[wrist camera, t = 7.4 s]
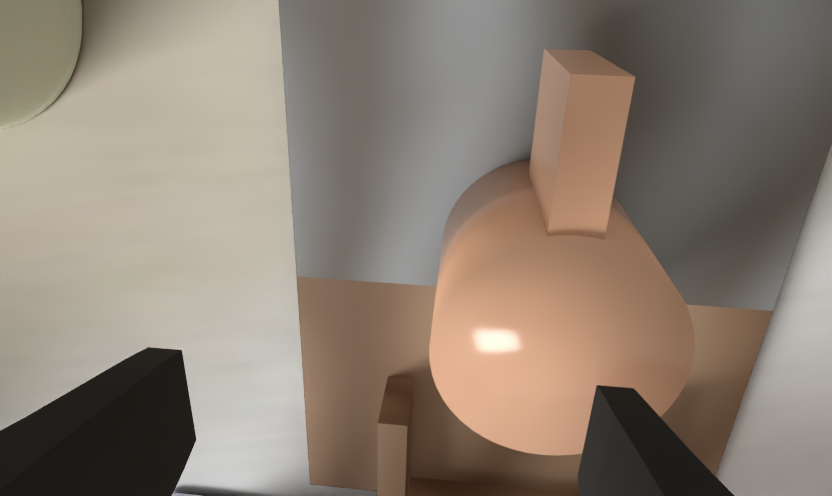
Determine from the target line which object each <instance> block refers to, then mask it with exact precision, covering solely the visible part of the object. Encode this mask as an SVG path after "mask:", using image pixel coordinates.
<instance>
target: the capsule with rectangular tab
mask: <svg viewBox="0 0 832 496" xmlns="http://www.w3.org/2000/svg"><path fill="white" fill-rule="evenodd" d="M634 82H635V76H633V75H631V74H630V73H628V72H626V71H625V70H623V69H621V68H619V67H618V66H616V65H614V64H613V63H611V62H609V61H608V60H606V59H604V58H603V57H601V56H599V55H598V54H596V53H594V52H593V51H590V50H567V49H544V53H543V61H542V70H541V78H540V86H539V94H538V103H537V111H536V119H535V127H534V136H533V144H532V152H531V160H524V161H518V162H514V163H510V164H507V165H504V166H501V167H499V168H496V169H494V170H492V171H491V172H489V173H487V174H485V175H483V176H482V177H481V178H479V179H478V180H476V181H475V182H474V183H473V184H472V185H470V186H469V187H468V188H467V189H466V190H465V191H464V192H463V194H462V195H461V196H460V197H459V199H458V200H457V201H456V203H455V204H454V206H453V208H452V209H451V211H450V214H449V216H448V218H447V220H446V224H445V227H444V231H443V238H442V246H441V255H440V263H439V271H438V279H437V287H436V296H435V304H434V312H433V320H432V329H431V337H430V345H429V359H430V366H431V372H432V376H433V379H434V382H435V384H436V387H437V389H438V391H439V393H440V395H441V397H442V399H443V400H444V402H445V403H446V404H447V406H448V407H449V409H450V410H451V411H452V412H453V413H454V414H455V415H456V416H457V417H458V418H459V419H460V421H462V422H463V423H464V424H465V425H467V426H468V427H469V428H470V429H471V430H473V431H475V432H476V433H478V434H479V435H481V436H482V437H484V438H486V439H488V440H490V441H492V442H494V443H496V444H499V445H502V446H504V447H507V448H510V449H513V450H518V451H522V452H526V453H532V454H539V455H556V456H559V455H575V454H581V453H582V452H583V447H584V443H585V438H586V433H587V428H588V424H589V419H590V414H591V409H592V405H593V400H594V395H595V390H596V386H597V385H602V386H614V387H626V388H634V389H635V390H636V391H637V392H638V393H639V394H640V395H641V396H642V398H643V399H644V400H645V401H646V402H647V403H648V404H649V405H650V406H651V407H652V409H653V410H654V411H655V412H656V413H657V414H658V415H659V416H660V417H661V416H662V415H663V414H664V413H665V412H666V411H667V410H668V409H669V408H670V407H671V405H672V404H673V403H674V401H675V400H676V399H677V397H678V396H679V394H680V393H681V391H682V389H683V387H684V385H685V384H686V382H687V379H688V376H689V374H690V371H691V368H692V364H693V359H694V353H695V335H694V328H693V323H692V320H691V316H690V313H689V310H688V308H687V306H686V304H685V302H684V300H683V298H682V296H681V295H680V293H679V292H678V290H677V289H676V287H675V286H674V284H673V283H672V281H671V280H670V278H669V277H668V275H667V274H666V272H665V271H664V269H663V268H662V266H661V264H660V263H659V261H658V260H657V258H656V257H655V255H654V254H653V252H652V251H651V249H650V248H649V246H648V245H647V243H646V242H645V240H644V239H643V237H642V236H641V234H640V233H639V231H638V230H637V228H636V227H635V225H634V224H633V222H632V220H631V219H630V217H629V216H628V214H627V213H626V211H625V210H624V208H623V207H622V205H621V204H620V202H619V201H618V199H617V198H616V197H615V195H614V194H613V192H614V187H615V181H616V176H617V171H618V166H619V160H620V155H621V150H622V145H623V139H624V134H625V129H626V124H627V118H628V113H629V108H630V103H631V97H632V92H633V87H634Z"/></svg>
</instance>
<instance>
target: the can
mask: <svg viewBox="0 0 832 496" xmlns="http://www.w3.org/2000/svg"><path fill="white" fill-rule="evenodd" d="M81 37H82V4H81V0H0V129H3V128H7V127H12V126H15V125H18V124H21V123H23V122H26V121H28V120H30V119H32V118H34V117H35V116H37V115H38V114H40V113H41V112H43V111H44V110H45V109H46V108H48V107H49V106H50V105H51V104H52V103H53V102H54V101H55V100H56V99H57V97H58V96H59V95H60V94H61V92H62V91H63V90H64V88H65V86H66V85H67V83H68V81H69V80H70V78H71V75H72V73H73V70H74V68H75V65H76V62H77V59H78V55H79V51H80V44H81Z"/></svg>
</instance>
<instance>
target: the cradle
mask: <svg viewBox="0 0 832 496" xmlns="http://www.w3.org/2000/svg"><path fill="white" fill-rule="evenodd" d="M279 14H280V29H281V44H282V60H283V75H284V90H285V106H286V121H287V136H288V152H289V167H290V182H291V198H292V213H293V228H294V244H295V259H296V274H297V290H298V305H299V321H300V336H301V351H302V367H303V382H304V397H305V413H306V428H307V443H308V459H309V474H310V485H321V486H331V487H341V488H351V489H361V490H372V491H377V496H580V491H579V483H578V471H579V466H580V462H581V457H582V453H581V454H575V455H559V456H556V455H539V454H532V453H526V452H522V451H518V450H513V449H510V448H507V447H504V446H502V445H499V444H496V443H494V442H492V441H490V440H488V439H486V438H484V437H482V436H481V435H479V434H478V433H476V432H475V431H473V430H471V429H470V428H469V427H468V426H467V425H465V424H464V423H463V422H462V421H460V419H459V418H458V417H457V416H456V415H455V414H454V413H453V412H452V411H451V410H450V409H449V407H448V406H447V404H446V403H445V402H444V400H443V399H442V397H441V395H440V393H439V391H438V389H437V387H436V384H435V382H434V379H433V376H432V372H431V366H430V359H429V345H430V337H431V329H432V320H433V312H434V304H435V296H436V287H437V279H438V271H439V263H440V255H441V246H442V238H443V231H444V227H445V224H446V220H447V218H448V216H449V214H450V211H451V209H452V208H453V206H454V204H455V203H456V201H457V200H458V199H459V197H460V196H461V195H462V194H463V192H464V191H465V190H466V189H467V188H468V187H469V186H470V185H472V184H473V183H474V182H475V181H476V180H478V179H479V178H481V177H482V176H483V175H485V174H487V173H489V172H491V171H492V170H494V169H496V168H499V167H501V166H504V165H507V164H510V163H514V162H518V161H524V160H531V152H532V144H533V136H534V127H535V119H536V111H537V103H538V94H539V86H540V78H541V70H542V61H543V53H544V49H567V50H590V51H593V52H594V53H596V54H598V55H599V56H601V57H603V58H604V59H606V60H608V61H609V62H611V63H613V64H614V65H616V66H618V67H619V68H621V69H623V70H625V71H626V72H628V73H630V74H631V75H633V76H635V82H634V87H633V92H632V97H631V103H630V108H629V113H628V118H627V124H626V129H625V134H624V139H623V145H622V150H621V155H620V160H619V166H618V171H617V176H616V181H615V187H614V192H613V194H614V195H615V197H616V198H617V199H618V201H619V202H620V204H621V205H622V207H623V208H624V210H625V211H626V213H627V214H628V216H629V217H630V219H631V220H632V222H633V224H634V225H635V227H636V228H637V230H638V231H639V233H640V234H641V236H642V237H643V239H644V240H645V242H646V243H647V245H648V246H649V248H650V249H651V251H652V252H653V254H654V255H655V257H656V258H657V260H658V261H659V263H660V264H661V266H662V268H663V269H664V271H665V272H666V274H667V275H668V277H669V278H670V280H671V281H672V283H673V284H674V286H675V287H676V289H677V290H678V292H679V293H680V295H681V296H682V298H683V300H684V302H685V304H686V306H687V308H688V310H689V313H690V316H691V320H692V323H693V328H694V335H695V353H694V359H693V364H692V368H691V371H690V374H689V376H688V379H687V382H686V384H685V385H684V387H683V389H682V391H681V393H680V394H679V396H678V397H677V399H676V400H675V401H674V403H673V404H672V405H671V407H670V408H669V409H668V410H667V411H666V412H665V413H664V414H663V415H662V416H661V419H662V420H663V421H664V422H665V423H666V424H667V425H668V426H669V427H670V428H671V430H672V431H673V432H674V433H675V434H676V435H677V436H678V437H679V438H680V439H681V441H682V442H683V443H684V444H685V445H686V446H687V447H688V448H689V449H690V450H691V451H692V452H693V454H694V455H695V456H696V457H697V458H698V459H699V460H700V461H701V462H702V463H703V464H704V465H705V466H706V467H707V468H708V469H709V470H710V471H711V473H712V474H713V475H714V476H715V475H716V472H717V469H718V466H719V463H720V461H721V458H722V455H723V452H724V449H725V446H726V443H727V441H728V438H729V435H730V432H731V429H732V426H733V423H734V421H735V418H736V415H737V412H738V409H739V406H740V403H741V401H742V398H743V395H744V392H745V389H746V386H747V383H748V381H749V378H750V375H751V372H752V369H753V366H754V363H755V361H756V358H757V355H758V352H759V349H760V346H761V343H762V341H763V338H764V335H765V332H766V329H767V326H768V323H769V321H770V318H771V315H772V312H773V309H774V306H775V303H776V301H777V298H778V295H779V292H780V289H781V286H782V283H783V281H784V278H785V275H786V272H787V269H788V266H789V263H790V261H791V258H792V255H793V252H794V249H795V246H796V243H797V240H798V238H799V235H800V232H801V229H802V226H803V223H804V220H805V218H806V215H807V212H808V209H809V206H810V203H811V200H812V198H813V195H814V192H815V189H816V186H817V183H818V180H819V178H820V175H821V172H822V169H823V166H824V163H825V160H826V158H827V155H828V152H829V149H830V146H831V143H832V0H279Z"/></svg>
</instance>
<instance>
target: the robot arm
mask: <svg viewBox="0 0 832 496" xmlns="http://www.w3.org/2000/svg"><path fill="white" fill-rule="evenodd" d="M195 441H196V436H195V430H194V423H193V417H192V411H191V405H190V399H189V393H188V386H187V380H186V374H185V368H184V362H183V355H182V350H173V349H161V348H149V347H148V348H146V349H144V350H142V351H140V352H138V353H136V354H135V355H133V356H131V357H129V358H127V359H125V360H124V361H122V362H120V363H118V364H116V365H115V366H113V367H111V368H110V369H108V370H106V371H104V372H103V373H101V374H99V375H97V376H96V377H94V378H92V379H91V380H89V381H87V382H86V383H84V384H82V385H80V386H79V387H77V388H75V389H74V390H72V391H70V392H68V393H67V394H65V395H63V396H61V397H60V398H58V399H56V400H55V401H53V402H51V403H49V404H48V405H46V406H44V407H42V408H41V409H39V410H37V411H36V412H34V413H32V414H30V415H29V416H27V417H25V418H23V419H21V420H20V421H18V422H16V423H14V424H12V425H10V426H8V427H7V428H5V429H3V430H1V431H0V496H201V495H191V494H182V493H173V492H174V490H175V488H176V485H177V483H178V481H179V479H180V477H181V474H182V472H183V470H184V468H185V465H186V463H187V460H188V458H189V456H190V453H191V451H192V448H193V446H194V444H195ZM578 483H579V491H580V496H734V495H733V494H732V493H731V492H730V491H729V490H728V489H727V488H726V487H725V486H724V485H723V484H722V483H721V482H720V481H719V480H718V479H717V478H716V477H715V476H714V475H713V474H712V473H711V471H710V470H709V469H708V468H707V467H706V466H705V465H704V464H703V463H702V462H701V461H700V460H699V459H698V458H697V457H696V456H695V455H694V454H693V452H692V451H691V450H690V449H689V448H688V447H687V446H686V445H685V444H684V443H683V442H682V441H681V439H680V438H679V437H678V436H677V435H676V434H675V433H674V432H673V431H672V430H671V428H670V427H669V426H668V425H667V424H666V423H665V422H664V421H663V420H662V419H661V417H660V416H659V415H658V414H657V413H656V412H655V411H654V410H653V409H652V407H651V406H650V405H649V404H648V403H647V402H646V401H645V400H644V399H643V398H642V396H641V395H640V394H639V393H638V392H637V391H636V390H635V389H634V388H626V387H614V386H602V385H597V386H596V390H595V395H594V400H593V405H592V409H591V414H590V419H589V424H588V428H587V433H586V438H585V443H584V447H583V452H582V457H581V462H580V466H579V471H578Z"/></svg>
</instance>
